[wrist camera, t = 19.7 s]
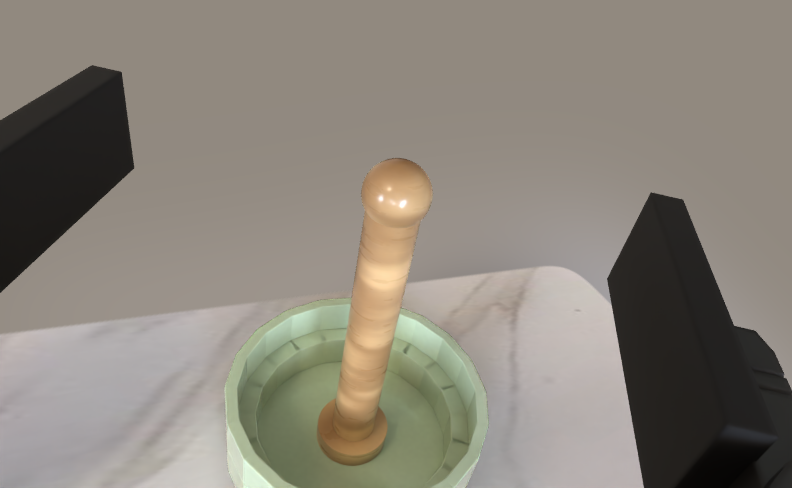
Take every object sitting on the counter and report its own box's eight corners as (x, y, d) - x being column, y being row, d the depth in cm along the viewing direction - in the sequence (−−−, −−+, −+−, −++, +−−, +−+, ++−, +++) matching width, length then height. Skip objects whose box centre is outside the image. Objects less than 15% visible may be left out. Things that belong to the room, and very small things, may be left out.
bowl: (509, 441, 40) (533, 391, 37) (359, 632, 30) (374, 586, 27) (344, 319, 47) (351, 267, 43) (174, 442, 36) (167, 386, 33)
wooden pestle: (398, 434, 38) (472, 169, 26) (353, 480, 35) (412, 204, 23) (348, 394, 40) (395, 128, 28) (301, 434, 37) (330, 157, 25)
